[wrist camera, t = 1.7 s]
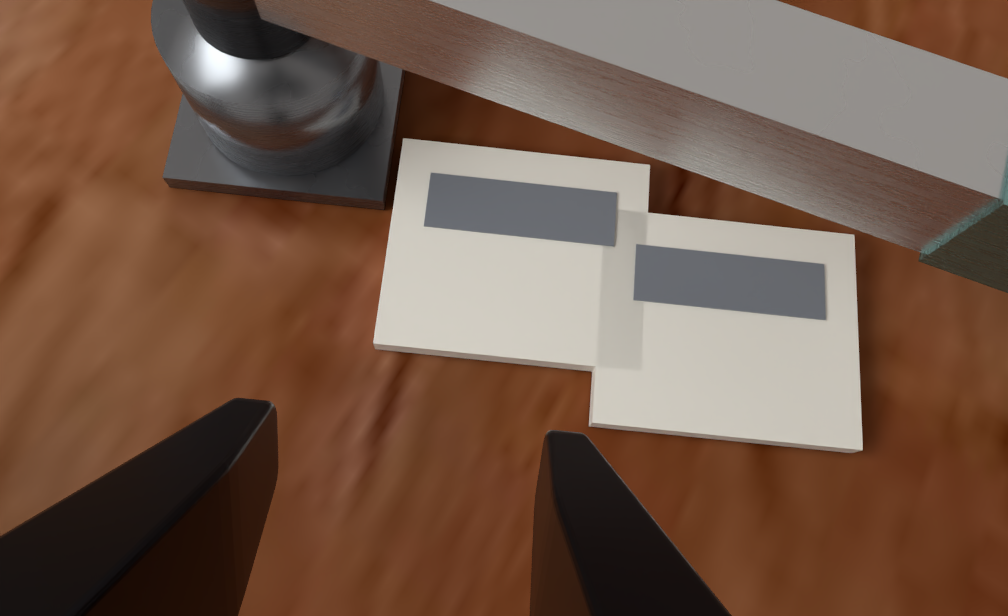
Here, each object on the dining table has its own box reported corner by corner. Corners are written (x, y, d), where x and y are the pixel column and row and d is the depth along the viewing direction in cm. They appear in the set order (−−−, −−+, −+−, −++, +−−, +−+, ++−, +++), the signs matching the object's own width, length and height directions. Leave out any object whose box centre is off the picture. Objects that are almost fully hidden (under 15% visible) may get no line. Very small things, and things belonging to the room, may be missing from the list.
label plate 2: (852, 453, 22) (863, 449, 21) (588, 426, 22) (592, 422, 21) (844, 242, 24) (855, 233, 23) (601, 216, 23) (605, 207, 23)
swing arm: (973, 321, 18) (1114, 253, 14) (165, 32, 19) (90, -104, 15) (997, 197, 19) (1137, 101, 15) (227, -71, 20) (171, -224, 16)
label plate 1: (636, 376, 22) (641, 370, 21) (375, 349, 22) (372, 342, 21) (645, 174, 24) (650, 163, 23) (404, 148, 24) (403, 136, 23)
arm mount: (384, 209, 23) (368, 132, 19) (170, 187, 23) (107, 104, 19) (411, 29, 25) (402, -77, 21) (213, 7, 25) (164, -104, 21)
